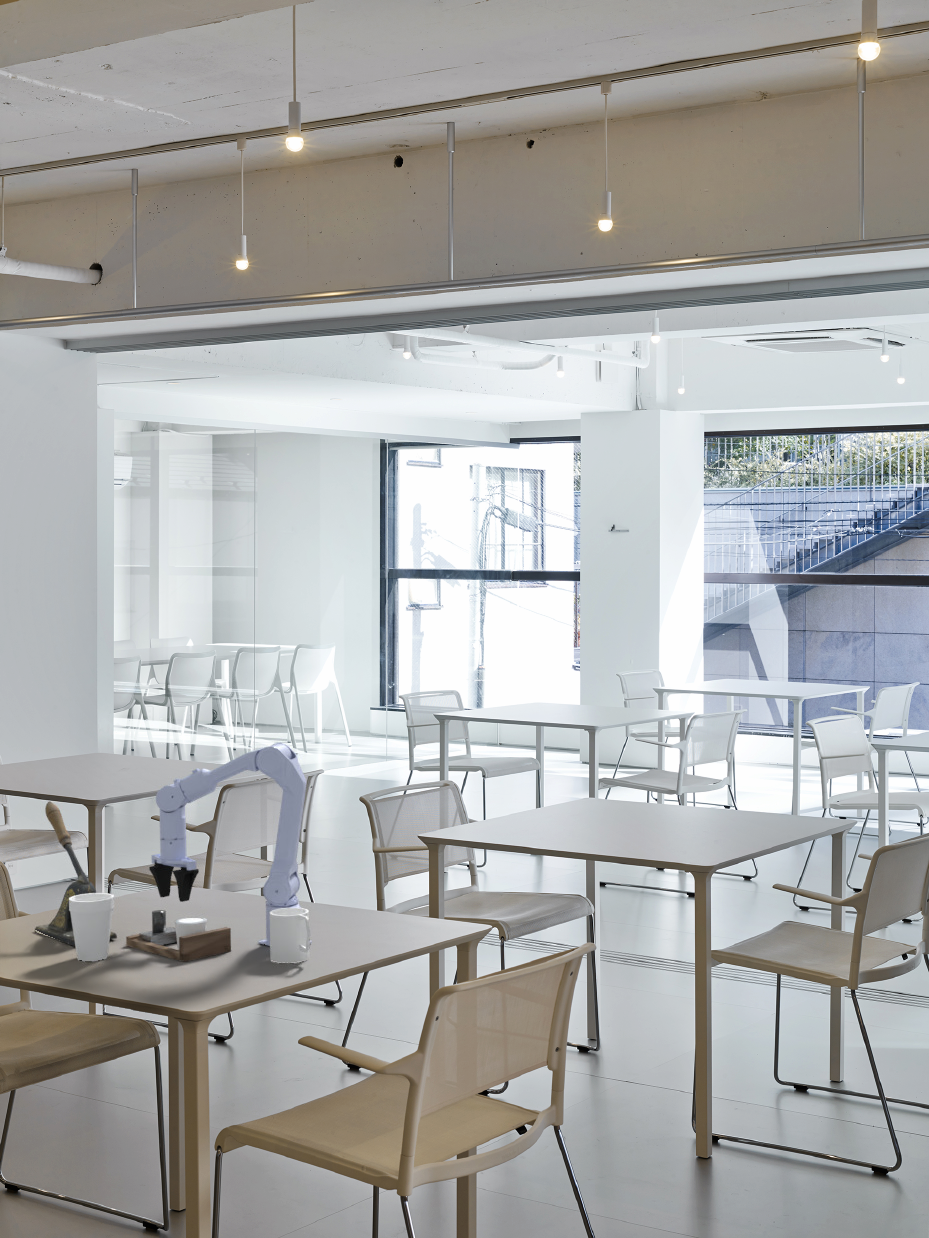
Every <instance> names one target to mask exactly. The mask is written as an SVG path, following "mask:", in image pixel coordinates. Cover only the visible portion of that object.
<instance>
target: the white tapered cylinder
mask: <svg viewBox="0 0 929 1238" xmlns="http://www.w3.org/2000/svg"><path fill="white" fill-rule="evenodd" d="M207 923H208V919H207V918H205V917H198V916H195V917H193V916H191V917H183V918H178V919H176V920H175V921H174V926H175V927H174V928H176V937H177V942H176V944H177V950H179V937H182V936H186V935H191V934H196V933H201V932H205V931H207V926H208V925H207Z"/></svg>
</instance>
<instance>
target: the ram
mask: <svg viewBox="0 0 929 1238" xmlns="http://www.w3.org/2000/svg"><path fill="white" fill-rule="evenodd" d="M166 915H167V911H166V910H164V909H157V910H152V912H151V921H152V922H151V923H152V924H151V927H152V928H151V929H152V930H149V931H146V932H145V931H144V932H140V933H138V934H139V940H143V941H147V942H150V943H154V944H158V945H161V946H164V945H167V944H173V943H177V937H176V928H175V927H174V928H172V926H169V927H167V916H166Z"/></svg>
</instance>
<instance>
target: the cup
mask: <svg viewBox="0 0 929 1238" xmlns="http://www.w3.org/2000/svg"><path fill="white" fill-rule="evenodd" d="M309 913H310V911H309V909H307V908H304V909H303V907H302V908H281V909H276V910H272V911H270V946H269V954H270V955H269V956H270V957H269V959H271V960H273V961H277V962H281V963H282V962H285V963H287V962H288V963H291V962H297V961H302V960H306V959H308V958H309V959H310V949H311V948H310V947H311V945H310V944H311V943H310V941H311V925H310V919H309V918H310V917H309ZM271 960H270V961H271Z"/></svg>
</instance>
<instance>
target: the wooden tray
mask: <svg viewBox="0 0 929 1238" xmlns="http://www.w3.org/2000/svg"><path fill="white" fill-rule="evenodd" d="M171 927H172V926H171ZM172 928H175V927H172ZM231 930H232V929H231V927H228V926H224V927H220V928H216V929H211V930H206V931H205V932H201V933H196V934H191V935H186V936H182V937H179V950H178V949H176V948H173V947H168V946H164V945H158V944H154V943H150V942H147V941H143V940H139V933H138V934H134V935H133V934H132V935H128V936H125V937H126V938H125V940H126V941H125V943H126V944H125V945H126V947H129V948H130V947H131V948H133V949H137V950H140V951H144V952H147V953H152V954H155V955H158V956H161V957H165V958H169V959H172V960H176V961H180V962H183V963H184V962H190V961H193V960H199V959H202V958H206V957H207V958H208V957H211V956H215V955H220V954H224V953H229V952H232V933H231V932H232V931H231Z"/></svg>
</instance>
